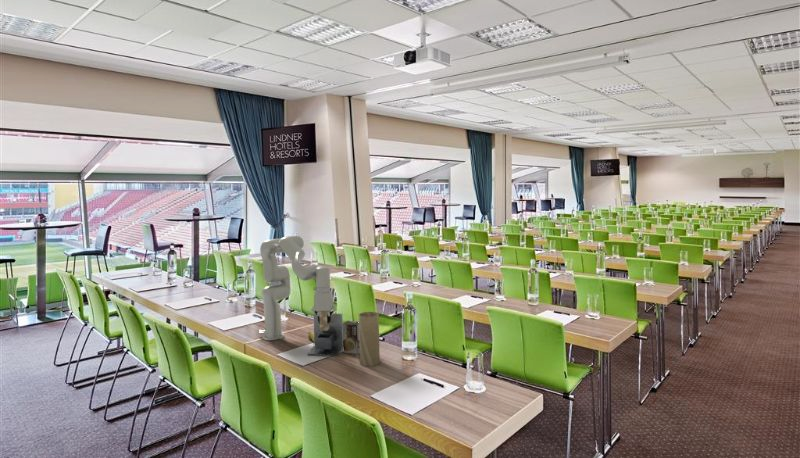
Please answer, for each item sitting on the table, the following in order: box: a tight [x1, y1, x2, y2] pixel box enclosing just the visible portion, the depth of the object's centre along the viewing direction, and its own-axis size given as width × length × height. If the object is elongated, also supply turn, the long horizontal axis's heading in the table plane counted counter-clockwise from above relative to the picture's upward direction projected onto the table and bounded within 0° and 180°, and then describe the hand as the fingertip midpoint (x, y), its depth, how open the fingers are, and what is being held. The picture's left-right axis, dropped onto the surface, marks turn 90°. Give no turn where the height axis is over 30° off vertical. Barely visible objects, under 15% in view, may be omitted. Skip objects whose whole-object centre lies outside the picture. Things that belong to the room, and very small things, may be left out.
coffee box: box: [342, 320, 360, 355], centre depth 260 cm, size 9×6×16 cm
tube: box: [358, 311, 381, 367], centre depth 243 cm, size 10×10×25 cm
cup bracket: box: [306, 312, 344, 357], centre depth 261 cm, size 16×16×19 cm
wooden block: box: [319, 311, 329, 331], centre depth 258 cm, size 4×4×14 cm
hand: (324, 322), depth 259 cm, fingers closed on wooden block, 4 cm apart
